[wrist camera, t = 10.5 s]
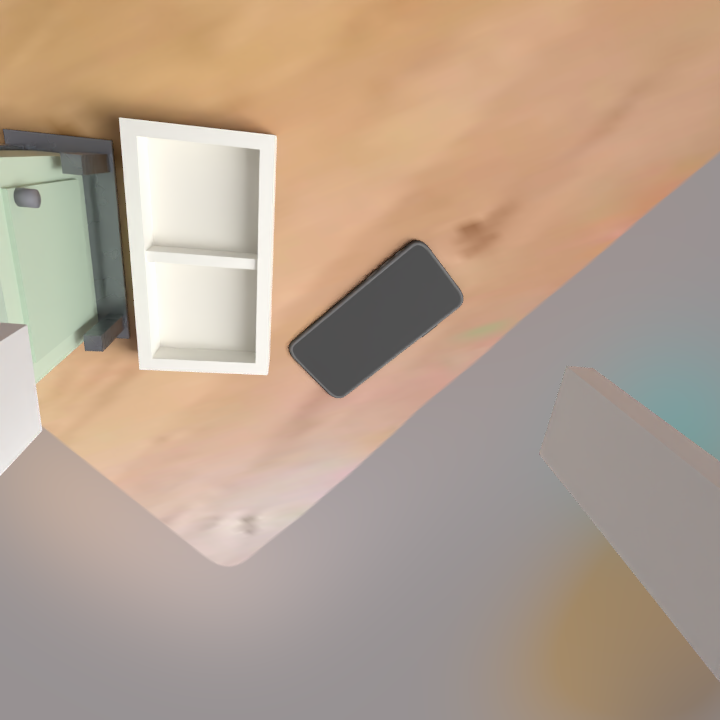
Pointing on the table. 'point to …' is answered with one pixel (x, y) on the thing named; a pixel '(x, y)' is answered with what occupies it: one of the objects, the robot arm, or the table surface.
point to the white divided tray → (200, 245)
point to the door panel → (45, 255)
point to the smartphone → (377, 320)
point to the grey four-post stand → (92, 223)
